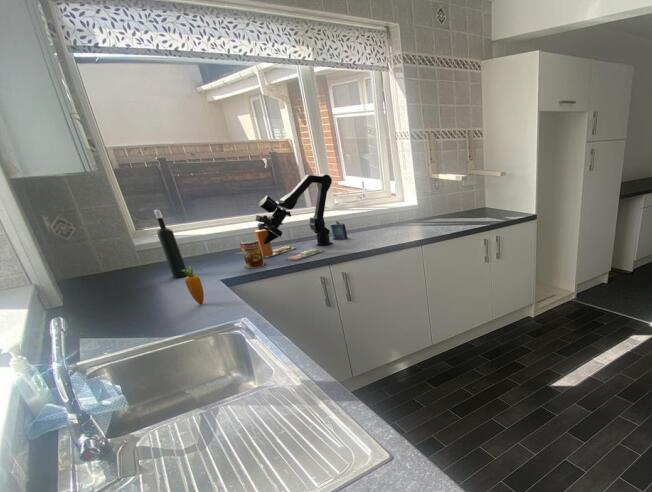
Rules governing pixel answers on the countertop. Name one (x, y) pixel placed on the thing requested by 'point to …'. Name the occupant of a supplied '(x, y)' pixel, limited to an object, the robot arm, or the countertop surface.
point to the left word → (280, 251)
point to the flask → (338, 231)
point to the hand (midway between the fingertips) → (261, 242)
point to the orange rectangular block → (261, 237)
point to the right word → (305, 254)
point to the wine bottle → (170, 248)
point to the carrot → (194, 286)
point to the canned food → (252, 253)
